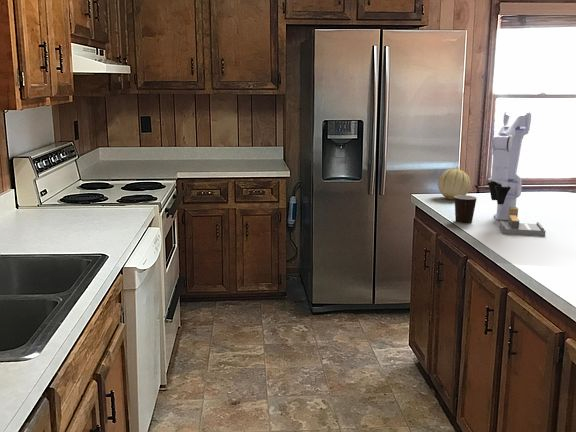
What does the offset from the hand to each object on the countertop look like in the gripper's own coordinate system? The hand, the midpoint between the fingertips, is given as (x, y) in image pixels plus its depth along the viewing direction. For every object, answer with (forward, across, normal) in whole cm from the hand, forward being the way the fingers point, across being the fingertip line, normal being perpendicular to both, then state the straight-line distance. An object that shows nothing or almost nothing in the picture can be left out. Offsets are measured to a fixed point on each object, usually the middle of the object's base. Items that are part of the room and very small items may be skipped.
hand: (497, 202), depth 247 cm
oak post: (+10, -3, +7) cm, 13 cm away
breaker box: (+10, +7, +8) cm, 14 cm away
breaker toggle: (+8, +7, +5) cm, 11 cm away
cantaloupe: (+10, -56, -3) cm, 57 cm away
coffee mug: (+10, -7, -11) cm, 17 cm away
